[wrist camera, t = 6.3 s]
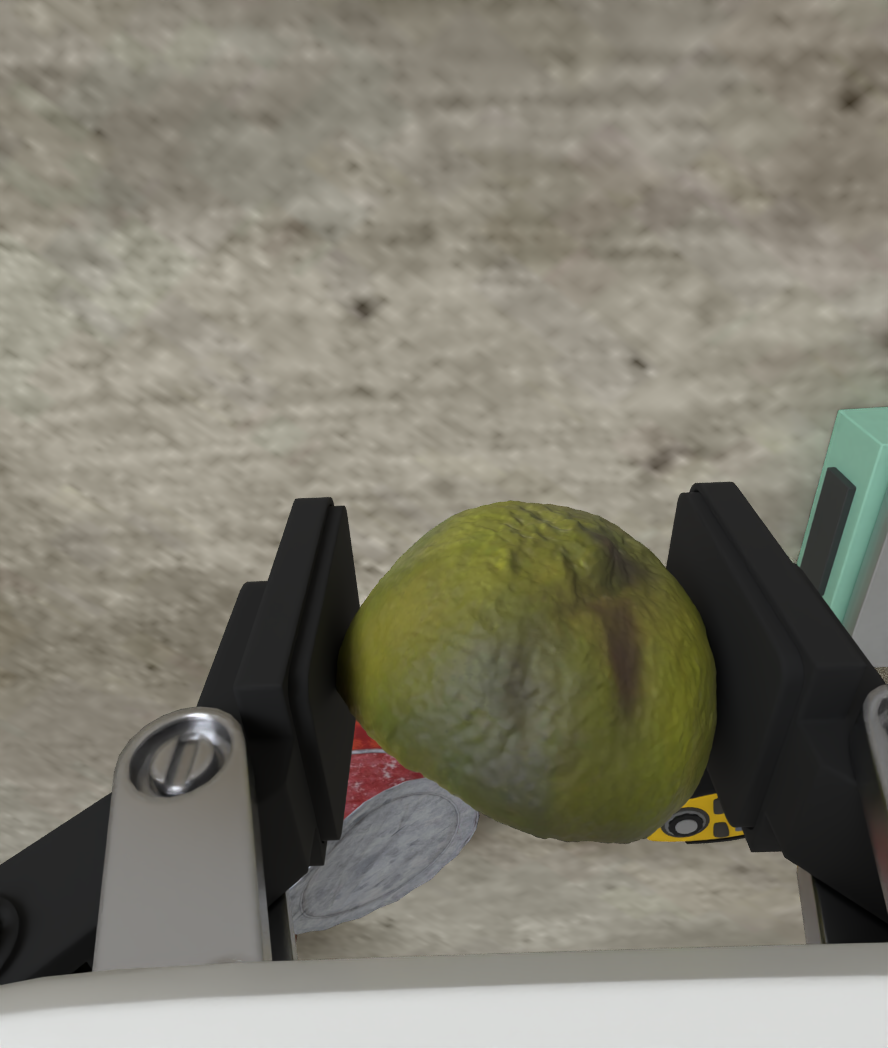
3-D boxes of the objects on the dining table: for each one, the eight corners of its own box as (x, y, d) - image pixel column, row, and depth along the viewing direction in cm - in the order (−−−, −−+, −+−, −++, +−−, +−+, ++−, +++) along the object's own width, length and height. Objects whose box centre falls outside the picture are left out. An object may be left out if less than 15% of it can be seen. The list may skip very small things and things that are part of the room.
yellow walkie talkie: (640, 806, 36) (948, 762, 34) (631, 774, 37) (925, 731, 36) (645, 858, 38) (932, 821, 37) (637, 826, 40) (910, 789, 38)
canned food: (370, 634, 37) (423, 710, 28) (484, 745, 41) (565, 846, 31) (213, 789, 36) (214, 923, 27) (344, 890, 39) (386, 1041, 30)
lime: (675, 619, 12) (802, 909, 8) (416, 684, 13) (405, 978, 9) (629, 392, 10) (772, 631, 6) (316, 490, 11) (238, 761, 6)
